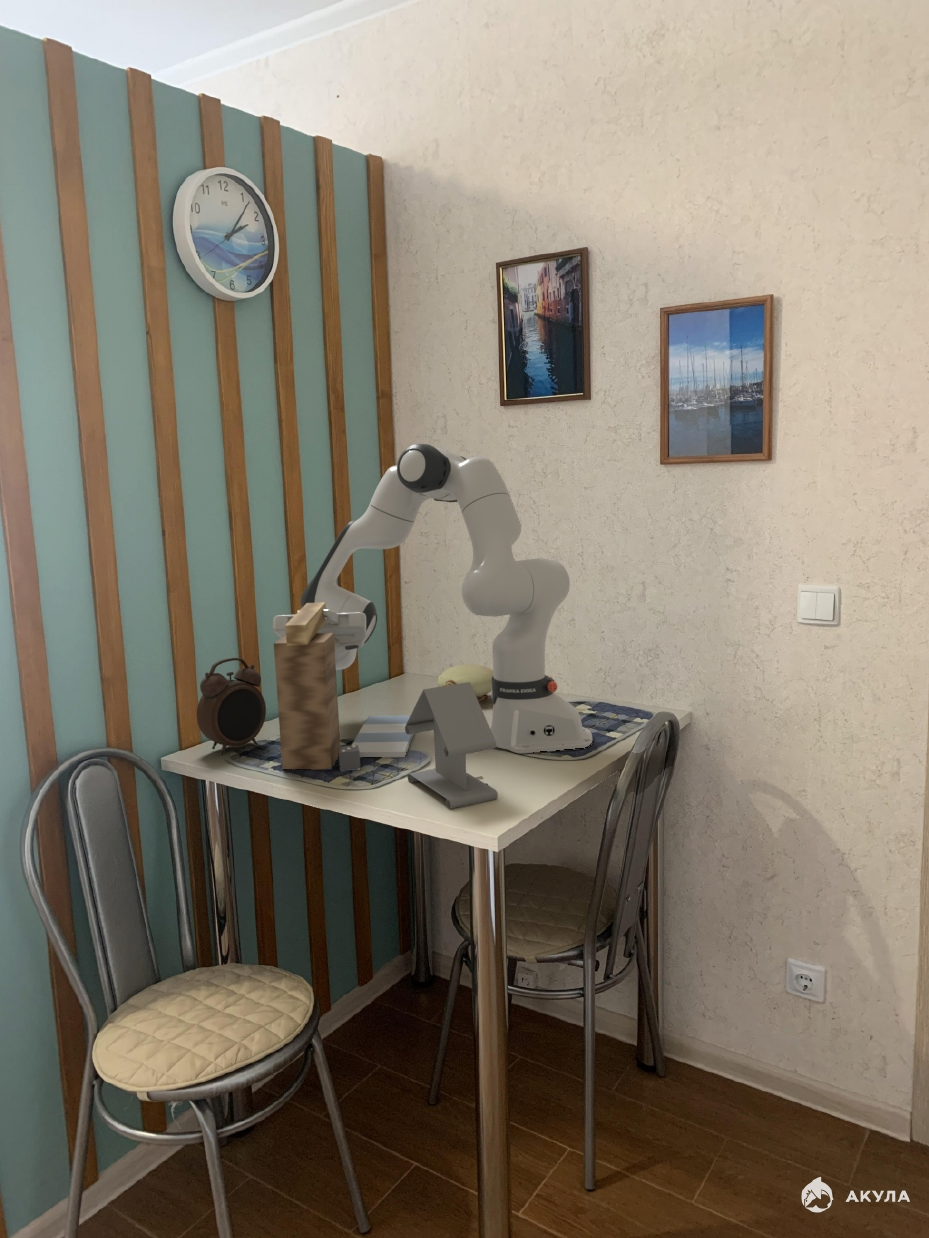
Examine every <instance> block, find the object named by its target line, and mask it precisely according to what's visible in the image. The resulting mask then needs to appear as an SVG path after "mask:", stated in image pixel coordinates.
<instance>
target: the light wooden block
mask: <svg viewBox="0 0 929 1238" xmlns="http://www.w3.org/2000/svg"><path fill="white" fill-rule="evenodd" d="M325 609H326V605H325V602H322V603H306V604H305V605H304V607H303V608H302V607H301V608H300V609H299V610H300V611H299V612H298V613H295V614H294V615H295V616H294V617H293V618H292V619H291V620H290V621H289V622H288V623H287V624H286V625H285V631H286V641H287V645H307V644H308V643H309V642H310V641H311V639H312V638H313V637H314V636H315V635H316V633H317V632H318V631H319V630H320V628H321V627H322V626H323V625H324V623H325V622H326V621H327V620H324V619H323V616H322V614H323V610H325Z"/></svg>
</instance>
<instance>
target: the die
mask: <svg viewBox="0 0 929 1238" xmlns="http://www.w3.org/2000/svg"><path fill="white" fill-rule="evenodd" d="M338 755H339V758H338V766H340V767H339V771H340V770H348V769H357V768H361V758H360V751H359V748H358V745H353V746H351V745H344V746H342V745H341V746H340V747H338Z"/></svg>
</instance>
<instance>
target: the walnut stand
mask: <svg viewBox="0 0 929 1238" xmlns="http://www.w3.org/2000/svg"><path fill="white" fill-rule="evenodd" d="M273 651H274V667H275V668H274V669H275V681H276V696H277V710H278V723H279V724H278V725H279V726H278V727H279V740H280V753H281V767H282V770H283V769H292V770H291V771H293V769H294V770H295V769H311V770H327V769H326V768H332V766H333V764H334V763H335V761H336V760H337V761H338V759H339V758H338V757H339V755H338V747H341V733H340V732H341V731H340V717H339V701H338V685H337V684H338V683H337V670H336V664H335V647H334V633H316V635H315V636H314V637H313V638H312V639H311V641H310V642H309V643H308V644H307V645H287V641H286V634H285V635H284V636H283V637H281V638H280V637H279V639H277V640H276V641H274V643H273ZM337 758H338V759H337ZM337 761H336V762H337ZM335 764H336V763H335ZM335 764H334V765H335ZM333 767H334V766H333ZM323 768H324V769H323ZM332 769H333V768H332Z"/></svg>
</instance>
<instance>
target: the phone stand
mask: <svg viewBox="0 0 929 1238" xmlns="http://www.w3.org/2000/svg"><path fill="white" fill-rule="evenodd" d="M410 715H411V716H410V718H409V720H408V722H407V724H406V726H405V732H406V734H407V735H409V734H419V733H424V732H425V733H426V732H430V731H431V732H432V731H433V737H434V738H433V740H434V762H435V763H434V764H435V768H430V769H424V770H421V771H415V772H409V773H407V781H408V783H410V784H413V783H417V782H421V784H423V785H425V786H426V787H428V788H430V789H431V790H432V791H434V792H435V793H437V794H439V795H440V796H442V797H443V798H444V799H446V800H445V806H446V808H447V809H449V810H453V809H457V808H462V807H466V806H471V805H474V804H480V803H484V802H488V801H493V800H497V799H498V791H497V790H496V788H494V787H492V786H490V785H488V784H487V783H485V782H483V781H481V780H480V779H479V778H476V776H473V775H471V774H470V773H468V772H467V759H466V758H467V757H466V755H467V754H472V753H477V752H482V751H487V750H492V749H495V748H497V747H496V741H495V739H494V736H493V734H492V732H491V726H490V725H489V722H488V720H487V719H486V716H485V713H484V711H483V708H482V706H481V704H480V702H478V697H476V695H475V693H474V690H473V688H472V686H471V683H470V682H467V683H461V684H454V685H448V686H442V687H438V686H437V687H431V688H430V687H429V688H424V689H423V690H422V692H421V694H420V696H419V697H418V700H417V701H416V704H415V705H414V707H413V710H412V712H411V714H410Z"/></svg>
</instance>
